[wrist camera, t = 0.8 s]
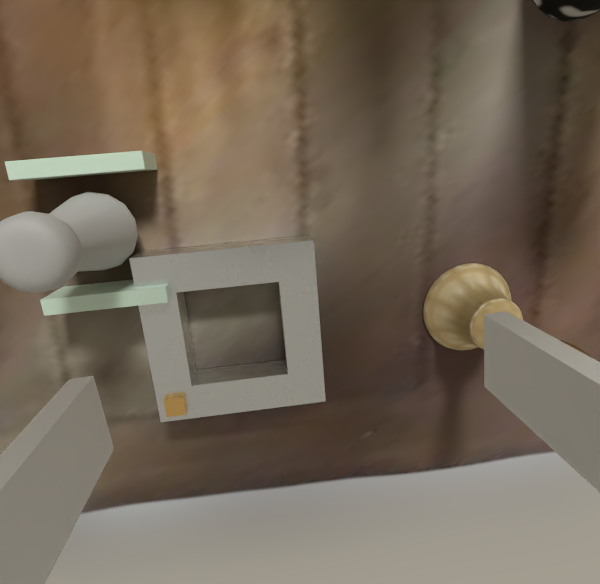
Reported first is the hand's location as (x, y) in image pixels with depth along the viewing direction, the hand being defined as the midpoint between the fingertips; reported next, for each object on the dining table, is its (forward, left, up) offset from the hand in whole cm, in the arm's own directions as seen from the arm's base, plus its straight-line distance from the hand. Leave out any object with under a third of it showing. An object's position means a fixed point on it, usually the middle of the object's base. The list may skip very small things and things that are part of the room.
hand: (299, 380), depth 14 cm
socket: (+5, -4, -23) cm, 24 cm away
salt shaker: (-4, -13, -23) cm, 27 cm away
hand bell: (+6, +17, -23) cm, 29 cm away
